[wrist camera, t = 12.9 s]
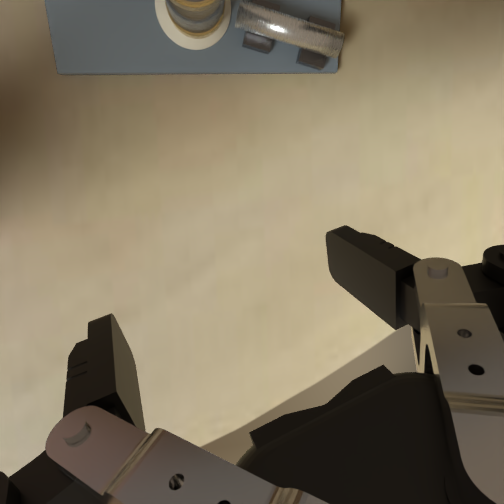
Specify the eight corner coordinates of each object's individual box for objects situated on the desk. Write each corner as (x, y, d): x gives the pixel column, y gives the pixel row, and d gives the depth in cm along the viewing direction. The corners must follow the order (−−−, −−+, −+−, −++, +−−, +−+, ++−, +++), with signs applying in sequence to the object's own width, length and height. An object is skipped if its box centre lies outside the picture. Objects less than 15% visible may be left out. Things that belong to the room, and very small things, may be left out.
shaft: (230, 45, 33) (233, 34, 29) (239, 1, 32) (243, -17, 28) (321, 73, 35) (336, 66, 31) (332, 32, 34) (349, 19, 30)
